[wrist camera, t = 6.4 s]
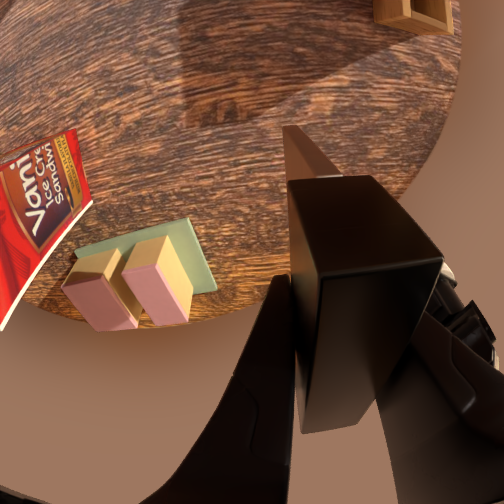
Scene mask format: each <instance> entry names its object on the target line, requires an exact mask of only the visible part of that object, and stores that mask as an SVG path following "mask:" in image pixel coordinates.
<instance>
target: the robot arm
mask: <svg viewBox="0 0 504 504" xmlns="http://www.w3.org/2000/svg"><path fill="white" fill-rule="evenodd" d="M456 286H457V282H456V281H455V280H454V279H452V278H450V277H448V276H447V275H445V274H443V273H441V272H440V275H439V277H438V280H437V283H436V285H435V287H434V290H433V292H432V295H431V297H430V299H429V302H428V304H427V306H426V308H425V311H424V313H423V315H422V317H421V319H420V321H419V323H418V325H417V327H416V329H415V331H414V333H413V335H412V337H411V339H410V341H409V343H408V345H407V347H406V349H405V351H404V352H403V354H402V356H401V358H400V359H399V361H398V363H397V365H396V366H395V368H394V370H393V371H392V373H391V375H390V376H389V378H388V380H387V381H386V383H385V384H384V386H383V388H382V389H381V391H380V392H379V394H378V395H377V397H376V398H375V399H376V402H377V406H378V410H379V414H380V418H381V421H382V426H383V429H384V434H385V438H386V442H387V447H388V451H389V455H390V460H391V466H392V471H393V476H394V481H395V486H396V492H397V499H398V504H504V374H502V373H501V372H500V371H498V368H499V358H498V356H497V353H496V351H495V349H494V347H493V345H492V344H493V343H494V342H496V338H495V336H494V334H493V332H492V330H491V328H490V326H489V325H488V323H487V321H486V319H485V318H484V316H483V315H482V313H481V312H480V310H479V309H478V307H477V305H476V304H475V303H474V301H473V300H472V301H470V303H469V304H468V305H467V306H466V307H464V305H463V303H462V302H461V300H460V299H459V297H458V296H457V294H456V292H455V291H454V288H455V287H456ZM295 366H296V306H295V301H294V297H293V292H292V288H291V283H290V278H289V276H288V275H287V274H282V275H275V276H274V277H273V278H272V281H271V283H270V286H269V288H268V291H267V293H266V296H265V298H264V301H263V303H262V305H261V308H260V310H259V313H258V315H257V318H256V320H255V323H254V325H253V327H252V330H251V332H250V335H249V337H248V339H247V342H246V344H245V346H244V349H243V351H242V354H241V356H240V358H239V361H238V363H237V365H236V368H235V370H234V372H233V376H232V377H231V379H230V381H229V383H228V386H227V388H226V390H225V392H224V394H223V396H222V398H221V400H220V402H219V405H218V406H217V408H216V410H215V412H214V413H213V415H212V417H211V418H210V420H209V422H208V424H207V425H206V427H205V428H204V430H203V431H202V433H201V435H200V436H199V438H198V439H197V441H196V442H195V444H194V445H193V447H192V448H191V450H190V451H189V453H188V454H187V456H186V457H185V459H184V460H183V461H182V463H181V464H180V466H179V467H178V468H177V470H176V471H175V472H174V474H173V475H172V476H171V477H170V478H169V479H168V481H167V482H166V483H165V484H164V485H163V486H161V487H160V488H159V489H158V490H157V491H155V492H154V493H153V494H151V495H150V496H149V497H147V498H146V499H145V500H143V501H142V502H140V503H139V504H287V502H288V491H289V480H290V468H291V467H290V466H291V454H292V438H293V420H294V396H295ZM0 504H50V503H47V502H45V501H42V500H39V499H36V498H33V497H30V496H27V495H24V494H21V493H19V492H16V491H14V490H11V489H8V488H6V487H4V486H1V485H0Z"/></svg>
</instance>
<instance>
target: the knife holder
mask: <svg viewBox="0 0 504 504" xmlns="http://www.w3.org/2000/svg"><path fill="white" fill-rule="evenodd" d="M372 3H373V16H374V23H379V24H383V25H387V26H391V27H394V28H398V29H401V30H405V31H408V32H411V33H414V34H418V35H453V34H454V33H453V20H452V10H451V2H450V0H372Z"/></svg>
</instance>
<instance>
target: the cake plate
mask: <svg viewBox="0 0 504 504" xmlns="http://www.w3.org/2000/svg"><path fill="white" fill-rule="evenodd" d="M165 235H168V237H169V239H170V241H171V244H172V246H173V248H174V250H175V252H176V254H177V256H178V258H179V260H180V262H181V264H182V266H183V268H184V270H185V272H186V274H187V276H188V278H189V280H190V282H191V284H192V286H193V294H192V295H194V294H200V293H205V292H211V291H217V285H216V282H215V280H214V278H213V275H212V273H211V271H210V268H209V266H208V264H207V261H206V259H205V257H204V254H203V252H202V249H201V247H200V245H199V242H198V240H197V237H196V235H195V232H194V230H193V227H192V225H191V223H190V220H189V218H188V217H187V218H183V219H179V220H175V221H171V222H167V223H164V224H160V225H156V226H152V227H149V228H145V229H142V230H138V231H134V232H131V233H127V234H124V235H120V236H117V237H114V238H110V239H107V240H104V241H100V242H97V243H94V244H91V245H87V246H84V247H81V248H78V249H76V250H75V251H74V253H75V254H76V256H77V257H78V259H79V258H83V257H86V256H90V255H93V254H97V253H100V252H104V251H108V250H111V249H115V248H118V250H119V252H120V254H121V255H122V257H123V259H124V261H125V262H126V263H127V261H128V259H129V257H130V255H131V253H132V251H133V249H134V247H135V245H136V243H138V242H142V241H145V240H149V239H153V238H157V237H161V236H165Z"/></svg>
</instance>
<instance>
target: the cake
mask: <svg viewBox="0 0 504 504" xmlns="http://www.w3.org/2000/svg"><path fill="white" fill-rule="evenodd" d="M125 265H126V262H125V261H124V259H123V257H122V255H121V254H120V252H119V250H118V248H115V249H111V250H108V251H104V252H100V253H97V254H93V255H90V256H86V257H83V258H79V259H78V260H77V261H76V263H75V264H74V266H73V268H72V269H71V271H70V272H69V274H68V276H67V277H66V279H65V281H64V282H63V284H62V286H61V289H62V291H63V292H64V293H65V294H66V296H67V297H68V298H69V300H70V301H71V302H72V303H73V305H74V306H75V307H76V308H77V310H78V311H79V312H80V313H81V315H82V316H83V317H84V318H85V319H86V321H87V322H88V323H89V324H90V325H91V326H92V327H93V329H94V330H95V331H96V332H103V331H115V330H126V329H136V328H137V326H138V323H139V320H140V316H141V313H142V310H143V307H142V305H141V304H140V302H139V301H138V300H137V298H136V297H135V295H134V294H133V292H132V291H131V289H130V288H129V286H128V285H127V283H126V281H125V280H124V278H123V277H122V275H121V274H122V271H123V270H124V267H125Z"/></svg>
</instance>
